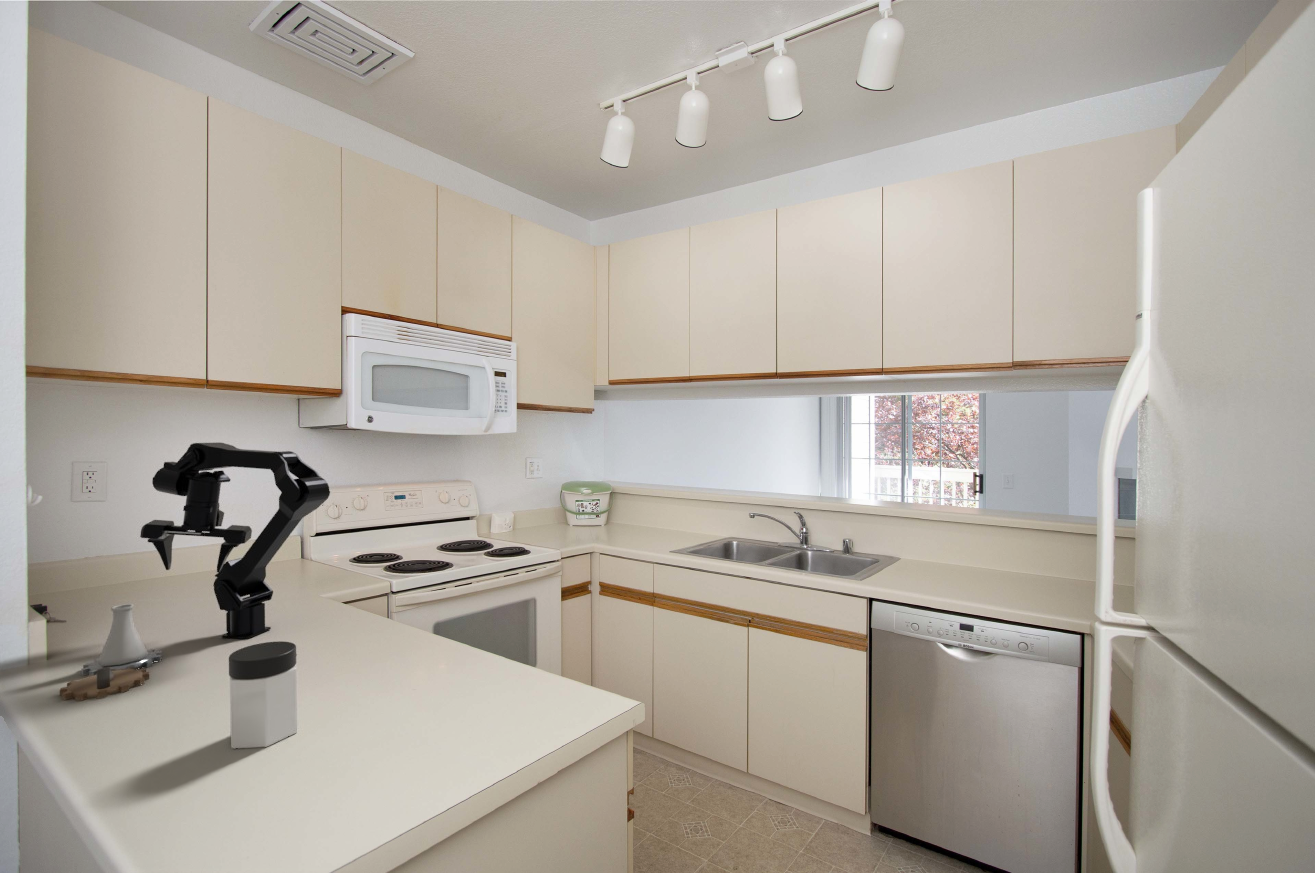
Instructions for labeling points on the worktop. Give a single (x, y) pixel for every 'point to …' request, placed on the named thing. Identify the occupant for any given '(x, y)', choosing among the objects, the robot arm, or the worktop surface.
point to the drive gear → (104, 683)
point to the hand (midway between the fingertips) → (193, 570)
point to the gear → (144, 662)
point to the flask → (122, 639)
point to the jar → (263, 694)
